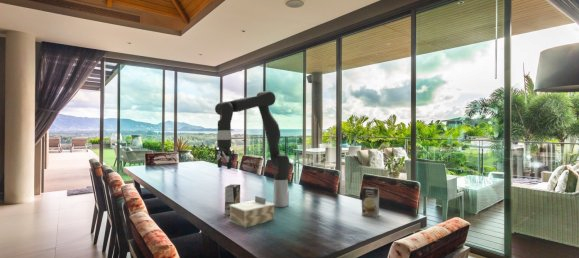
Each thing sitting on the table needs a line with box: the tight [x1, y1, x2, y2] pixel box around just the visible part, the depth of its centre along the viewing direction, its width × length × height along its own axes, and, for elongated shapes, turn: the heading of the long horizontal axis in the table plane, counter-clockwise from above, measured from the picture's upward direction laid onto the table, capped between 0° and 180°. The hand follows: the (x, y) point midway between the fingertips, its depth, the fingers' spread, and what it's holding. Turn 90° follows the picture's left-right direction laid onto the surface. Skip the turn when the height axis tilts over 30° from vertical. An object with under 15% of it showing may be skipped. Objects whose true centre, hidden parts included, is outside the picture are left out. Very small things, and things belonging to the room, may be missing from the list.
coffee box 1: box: [224, 184, 241, 215], centre depth 175 cm, size 9×6×16 cm
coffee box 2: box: [361, 185, 380, 218], centre depth 173 cm, size 9×6×16 cm
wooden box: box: [229, 205, 275, 228], centre depth 161 cm, size 19×14×8 cm
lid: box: [229, 195, 275, 212], centre depth 161 cm, size 20×15×4 cm
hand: (224, 168), depth 162 cm, fingers open, 8 cm apart
